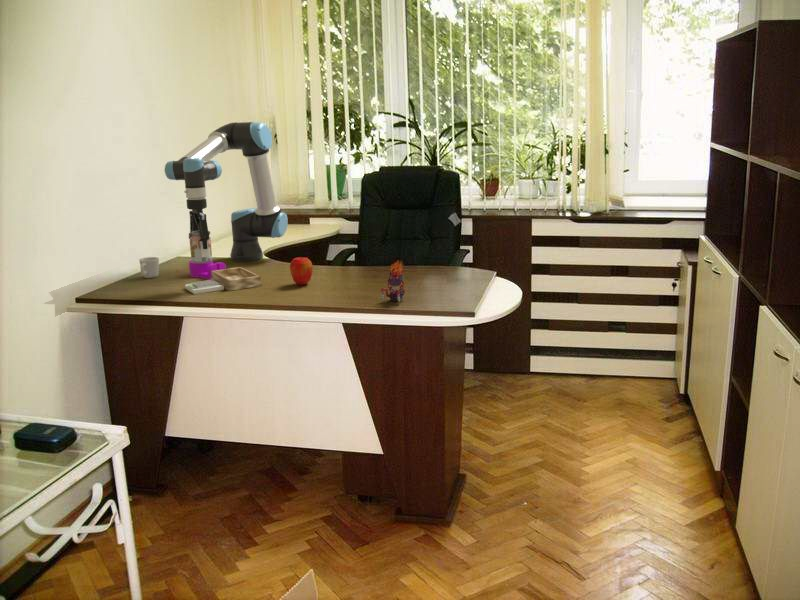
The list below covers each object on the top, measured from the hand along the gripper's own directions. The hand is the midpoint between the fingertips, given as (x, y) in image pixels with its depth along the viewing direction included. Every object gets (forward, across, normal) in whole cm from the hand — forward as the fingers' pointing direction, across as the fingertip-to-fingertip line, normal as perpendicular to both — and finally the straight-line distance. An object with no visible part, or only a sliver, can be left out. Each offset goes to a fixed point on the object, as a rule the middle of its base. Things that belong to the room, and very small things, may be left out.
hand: (201, 255), depth 312 cm
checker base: (+14, 0, 0) cm, 14 cm away
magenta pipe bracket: (+14, -24, +9) cm, 29 cm away
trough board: (+14, -2, +14) cm, 20 cm away
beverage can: (+3, 0, 0) cm, 3 cm away
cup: (+14, -35, -13) cm, 40 cm away
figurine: (+14, +62, +51) cm, 82 cm away
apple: (+14, +17, +35) cm, 41 cm away
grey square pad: (+12, 0, 0) cm, 12 cm away
